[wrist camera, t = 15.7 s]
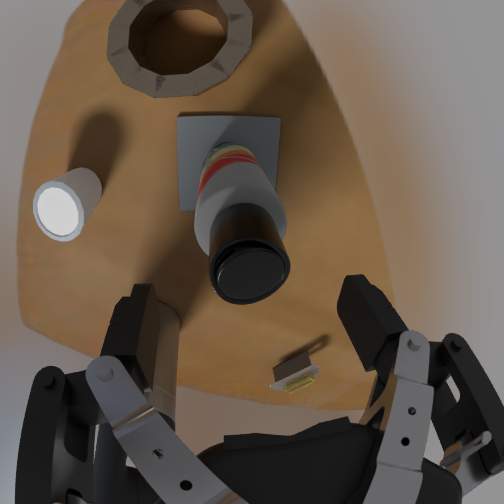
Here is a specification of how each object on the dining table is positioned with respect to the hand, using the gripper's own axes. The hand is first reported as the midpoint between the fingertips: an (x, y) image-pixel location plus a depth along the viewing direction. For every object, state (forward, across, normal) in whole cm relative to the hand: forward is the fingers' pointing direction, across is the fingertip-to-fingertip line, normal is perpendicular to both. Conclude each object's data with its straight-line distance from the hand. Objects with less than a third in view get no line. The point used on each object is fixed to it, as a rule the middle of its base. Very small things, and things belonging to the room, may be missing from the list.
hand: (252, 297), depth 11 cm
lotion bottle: (+22, 0, 0) cm, 22 cm away
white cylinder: (+22, +18, +2) cm, 29 cm away
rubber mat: (+22, 0, 0) cm, 22 cm away
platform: (+23, -13, +38) cm, 46 cm away
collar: (+22, +5, -14) cm, 26 cm away
